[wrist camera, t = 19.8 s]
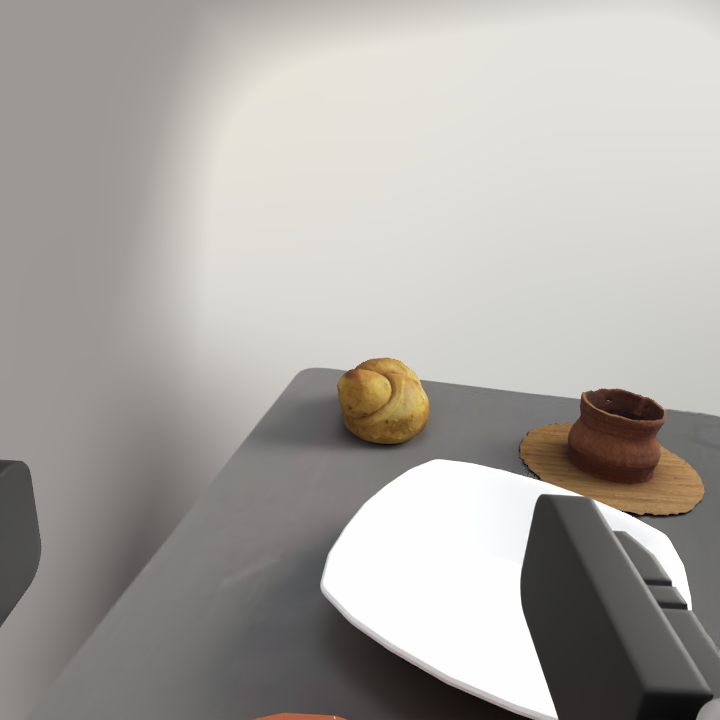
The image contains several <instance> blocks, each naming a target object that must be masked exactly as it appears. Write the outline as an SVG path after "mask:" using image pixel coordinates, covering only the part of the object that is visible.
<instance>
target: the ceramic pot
mask: <svg viewBox="0 0 720 720" xmlns="http://www.w3.org/2000/svg"><path fill="white" fill-rule="evenodd" d="M607 400H609V401H607ZM580 410H581V416H580V418H579V419H578V420H577V421H576V422H575V423H566V424H562V425H560V424H554V425H551V424H550V425H548V426H542V427H540V428H538V429H536V430H531V431H529V432H528V434H529V435H528V436H526V437H524V439H523V441H522V443H523V444H520V450H521V452H520V453H521V454H520V458H522V459H524V463H526V464H528V466H529V467H528V468H529V469H530V470H532V471H533V472H534V473H536V474H537V475H538V476H539V477H540V479H541V480H542V481H546V482H547V483H549V484H551V485H554V486H557V487H560V488H562V489H565V490H568V491H571V492H573V493H576V494H579V495H582V496H586V497H590V498H592V499H593V500H595V501H597V502H600V503H602V504H605V505H607V506H609V507H612V508H614V509H616V510H621V511H625V512H626V511H629V512H634V513H637V514H639V515H644V513H653V514H654V515H657V514H665V515H669V514H670V513H674V514H677V515H678V512H683V513H685V512H688V511H689V510H691V509H693V508H694V506H695V505H696V504H697V503H698V502H699V501H700V500H703V493H704V492H705V490H704V488H703V487H704V485H703V484H702V482H701V478H700V477H699V475H698V474H697V472H696V471H695V469H694V468H692V467H691V466H690V465H689V463H688V462H686V461H684V460H682V459H680V458H679V457H678V456H677V455H676V454H673V453H672V452H669V451H667V449H666V448H664V447H661V446H659V442H658V439H657V438H656V434H657V432H658V431H659V430H660V428H661V427H662V425H663V424H664V422H665V419H666V411H665V410H664V409H663V407H662V406H661V405H659V404H658V403H657V402H655V401H654V400H652V399H650V398H647V397H643V396H641V395H637V394H634V393H631V392H628V391H625V390H622V389H599V390H597V391H594V392H593V391H589V392H583V393H582V395H581V404H580Z"/></svg>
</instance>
